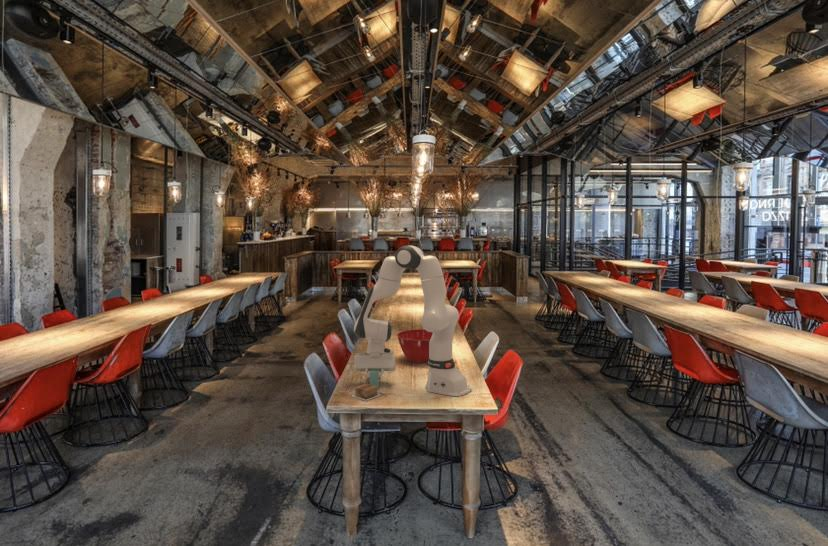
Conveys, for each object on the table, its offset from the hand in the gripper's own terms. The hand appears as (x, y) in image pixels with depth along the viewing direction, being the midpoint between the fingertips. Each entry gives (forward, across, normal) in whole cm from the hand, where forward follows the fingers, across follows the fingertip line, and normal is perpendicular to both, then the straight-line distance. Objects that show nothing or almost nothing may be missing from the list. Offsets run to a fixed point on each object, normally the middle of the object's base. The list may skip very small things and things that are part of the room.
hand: (374, 378), depth 239 cm
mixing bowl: (-32, +23, +38) cm, 55 cm away
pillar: (+3, 0, +4) cm, 5 cm away
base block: (+11, -2, -5) cm, 13 cm away
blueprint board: (+12, -2, -5) cm, 13 cm away
